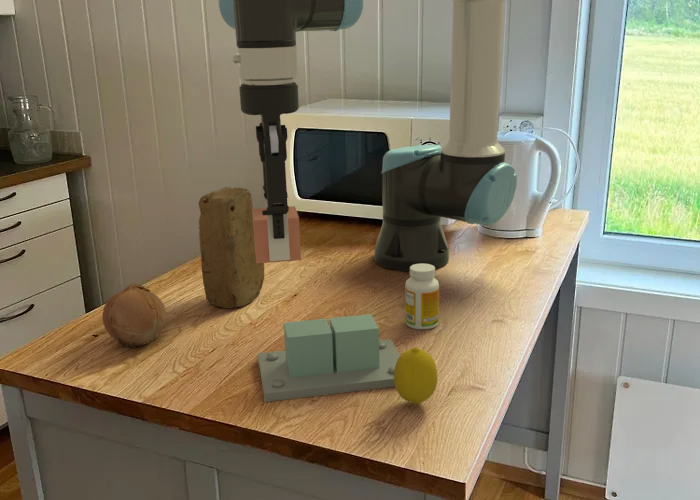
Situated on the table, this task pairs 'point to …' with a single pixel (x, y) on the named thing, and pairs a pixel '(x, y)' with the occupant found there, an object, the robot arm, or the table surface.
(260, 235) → the brick block
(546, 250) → the table surface
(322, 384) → the build plate
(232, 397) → the table surface
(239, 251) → the rough sandstone chunk
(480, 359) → the table surface
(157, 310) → the onion
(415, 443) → the table surface
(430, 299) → the supplement bottle
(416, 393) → the lemon
